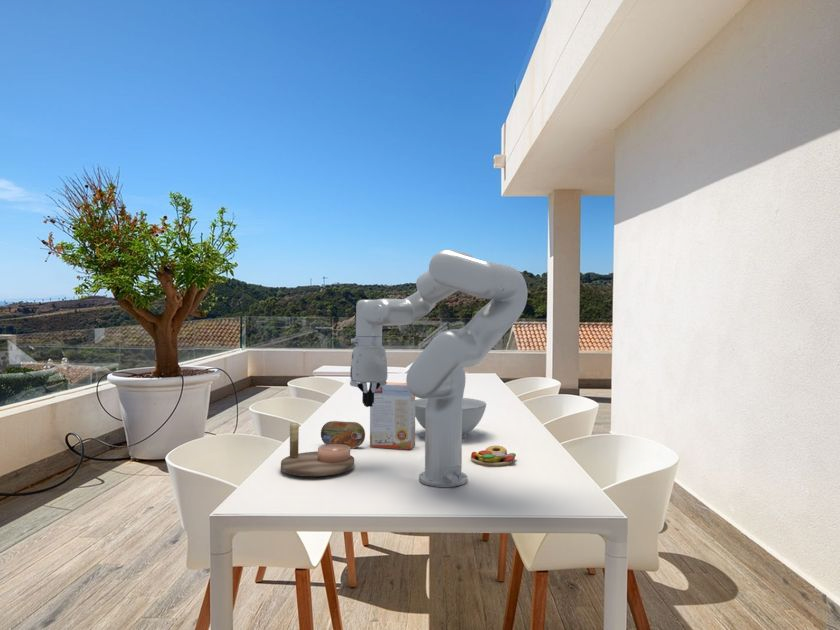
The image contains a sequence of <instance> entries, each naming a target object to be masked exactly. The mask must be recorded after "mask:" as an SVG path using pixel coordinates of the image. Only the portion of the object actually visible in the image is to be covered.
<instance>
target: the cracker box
mask: <svg viewBox="0 0 840 630" xmlns="http://www.w3.org/2000/svg"><path fill="white" fill-rule="evenodd" d="M386 382H387V381H386ZM415 400H416V397H415V396H414V395H412V394H411V392H410V391H409V389H408V387H407V383H406V382H393V381H392V382H387V384H386V385H383V386H379V388H378V389H377V390H376V391H375V393H374V403H372V407H370V406H369V446H370V448H378V449H393V450H394V449H396V450H408V451H410V450H412V449H413V448H414V447H416V417H415Z"/></svg>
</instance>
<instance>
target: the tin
mask: <svg viewBox="0 0 840 630" xmlns="http://www.w3.org/2000/svg"><path fill="white" fill-rule="evenodd" d="M320 438H321V441H322V442H323V444H324V445H331V444H342V445H347V446H350V450H351V449H352V450H353V449H356V448H358V447H360V446H361V445H362V444H363V443H364V441H365V438H366V431H365V428H364V426H363V425H361V424H360V423H359V422H356V421H344V420H343V421H341V420H340V421H339V420H331V421H327V422H326V423H324V424H323V426H322V427H321V429H320Z"/></svg>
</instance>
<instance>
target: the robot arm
mask: <svg viewBox="0 0 840 630" xmlns="http://www.w3.org/2000/svg"><path fill="white" fill-rule="evenodd" d="M415 284H416V290H417V291H415V292H413V293H412V294H410V295H408V296H407V297H405V298H401V299H400V298H378V299H360V300H358V301H357V303H356V304H355V305H356V308H355V311H356V312H355V315H356V316H355V317H356V318H355V336H354V338H351V339H350V343H351V344H354V345H355V346H354V347H353V349H352V354H351V361H350V374H349V375H350V376H349V377H350V381H349V385H350V386H351V387H355V388H357V389H359V390H360V391H361V392H362V397H361V399H362V404H363V406H364V407H366V408H370V407H372V403H374V393H375V391H376V390H377V389H378V388H379V386H383V385H386V384H387V380H388V362H387V361H388V360H387V352H386V347H383V327H385V326H387V327H388V326H389V327H390V326H406V325H409V324H413V323H414V322H416V321H418V320H420V319H421V318H423V317H425V316H427V315H428V314H429V313H430V312H431V311H432V310H433V309H434V308H435V306H436V304H437V303H439V302H441V301H443V300H444V299H445V298H448V297H450V296H451V295H453V294H455V293H457V292H461V293H464V294H467V295H470V296H473V297H476V298H480V299H487V300H490V301H489V302H488V303H486V304H485V305H484V306H483V307H481V308H480V309H479V310H478V311H477V312H476V313H475V314H474V316H473V317H472V318H471V319H470V320H469V321H468V322H467V324H466V325H464V326H463V327H461V328H455V329H454V328H453V329H446V330H444V331H442V332H441V331H440V333H439V334H437V335H436V336H435V337H434V338H433V339H432V340H431V341H430V342H428V345H427V346H426V347H424V350H422V351H421V353H420V354H419V355H418V356H417V358H416V359H415V360H414V361H413V362H412V364H411V365H410V366H409V368H408V370H407V374H406V378H405V379H406V382H405V383H407V387H408V389H409V391H410V392H411V394H412V395H414V396H415V398H418V399H428V401H427V405H426V412H425V429H424V471H423V472H420V473H419V475H418V481H419V482H420V483H422V484H423V485H426V486H431V487H436V488H452V487H453V488H454V487H458V486H462V485H464V484H466V483H467V482H468V474H466V473H464V472H463V469H462V468H463V467H462V465H463V463H462V462H463V461H462V460H463V458H462V457H463V456H462V455H463V454H462V452H463V450H462V449H463V448H462V445H463V442H462V441H463V439H462V402H463V398H464V394H465V388H466V379H467V377H466V373H465V370H464V369H465V368H470V367H475V366H476V365H478V364H480V362H481V361H482V360H483V359H484V358H485V357H486V356H487V354H489V353H490V351H491V350H492V349H493V348H494V346H496V345H497V344H498V343H499V341H500V340H501V339H502V338H503V336H505V334H506V333H507V331H509V329H510V328H511V327H512V326H513V325H515V323H516V322H517V321H518V319H519V318H520V317H521V316H522V313H523V312H524V310H525V307H526V305H527V301H528V286H527V282H526V280H525V277H524V276H523V274H522V273H521V272H520V270H517V268H514V267H513V266H509V265H507V264H501V263H497V262H491V261H490V262H489V261H485V260H482V259H478V258H474V257H473V256H472V255H471V254H469V253H467V252H463V251H457V250H452V249H444V250H443V249H442V250H440V251H438V252H437V253H435V254H434V255H433V256H432V257H431V259H430V261H429V264H428V269H427V271H425V272H424V273H422V274H420V275H419V276H418V277H417V279H416V281H415ZM368 384H369V386H368Z"/></svg>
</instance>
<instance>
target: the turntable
mask: <svg viewBox="0 0 840 630" xmlns="http://www.w3.org/2000/svg"><path fill="white" fill-rule="evenodd" d="M299 424H300V423H299V422H291V423H289V456H286V457H283V459H282V460H281V461H280V470H281V471H282V472H284V473H286V474H289V475H293V476H298V477H299V476H300V477H309V476H318V477H325V475H328V476H332V474H333V475H337V474H341V473H344V472H348V471H349V470H350V471H351V469H353V468H354V466H355V458H354V456H353V455H351V454H350V459H349V460H348V461H345V462H339V463H325V462H320V461H318V450H317V451H307V452H299V444H300V443H299V438H300V437H299V433H300V432H299V430H300V428H299V427H300V425H299Z"/></svg>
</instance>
